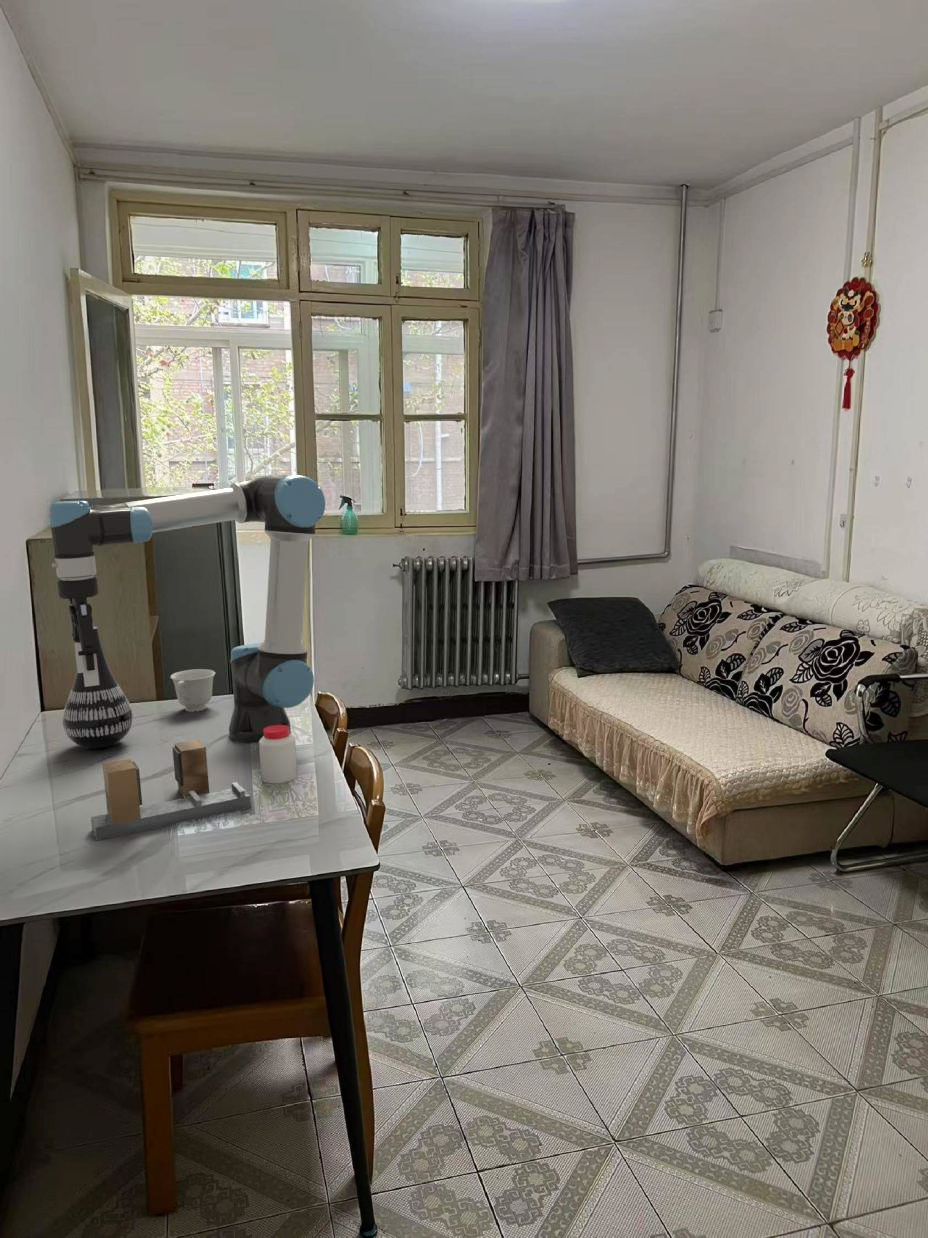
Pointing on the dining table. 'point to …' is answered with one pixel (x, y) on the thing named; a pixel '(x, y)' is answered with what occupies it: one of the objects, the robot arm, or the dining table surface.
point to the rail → (133, 818)
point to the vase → (97, 708)
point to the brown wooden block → (191, 767)
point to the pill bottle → (277, 755)
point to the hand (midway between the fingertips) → (88, 678)
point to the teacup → (193, 688)
